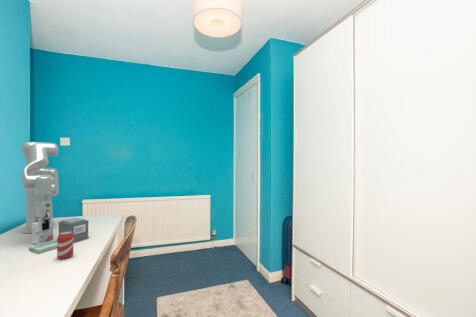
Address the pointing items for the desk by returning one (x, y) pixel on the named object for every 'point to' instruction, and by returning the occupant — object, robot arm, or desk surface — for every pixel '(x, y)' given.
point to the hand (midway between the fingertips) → (42, 228)
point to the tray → (44, 247)
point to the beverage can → (65, 244)
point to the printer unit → (75, 228)
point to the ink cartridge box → (41, 232)
